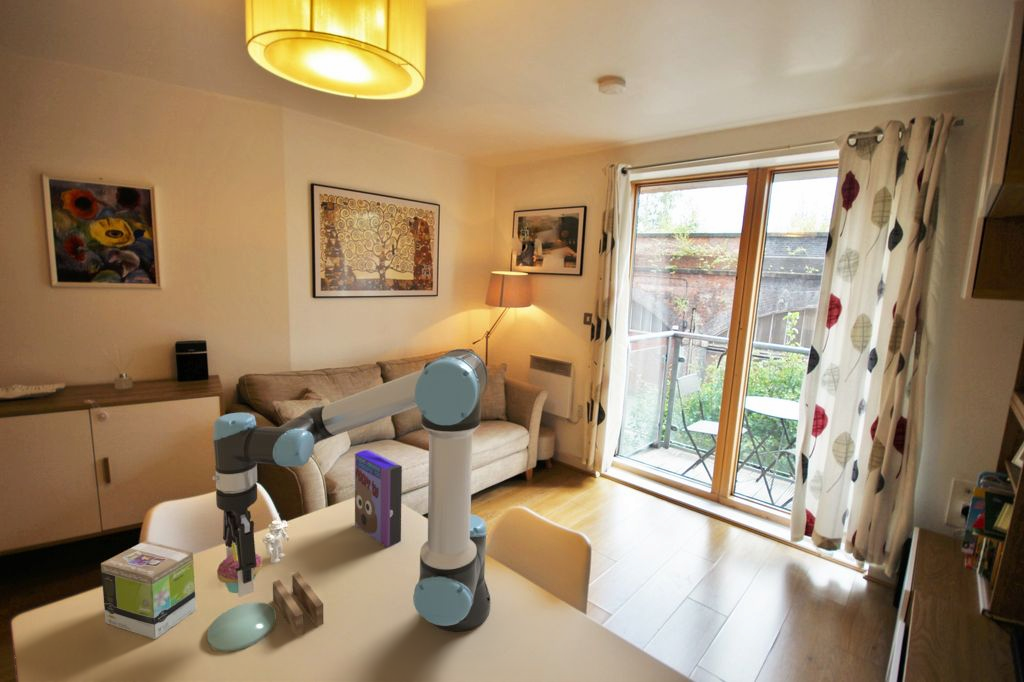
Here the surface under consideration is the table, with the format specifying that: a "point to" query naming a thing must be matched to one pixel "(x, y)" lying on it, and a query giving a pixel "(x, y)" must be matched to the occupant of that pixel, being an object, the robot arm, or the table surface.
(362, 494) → the cereal box
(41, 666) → the table surface
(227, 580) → the cupcake
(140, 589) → the tea box
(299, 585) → the brown flat block
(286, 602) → the rail
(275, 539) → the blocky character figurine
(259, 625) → the plate
